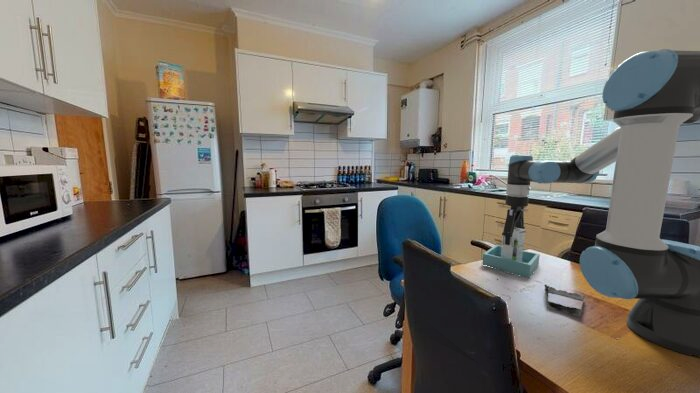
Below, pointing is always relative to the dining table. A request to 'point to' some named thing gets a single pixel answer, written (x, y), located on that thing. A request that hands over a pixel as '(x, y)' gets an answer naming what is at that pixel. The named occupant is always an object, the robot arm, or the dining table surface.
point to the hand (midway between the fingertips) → (512, 248)
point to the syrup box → (515, 245)
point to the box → (511, 262)
